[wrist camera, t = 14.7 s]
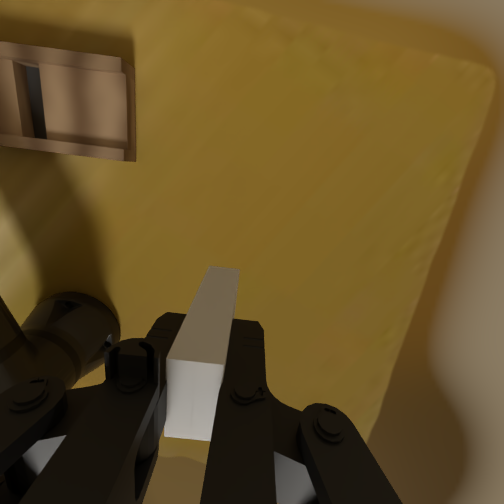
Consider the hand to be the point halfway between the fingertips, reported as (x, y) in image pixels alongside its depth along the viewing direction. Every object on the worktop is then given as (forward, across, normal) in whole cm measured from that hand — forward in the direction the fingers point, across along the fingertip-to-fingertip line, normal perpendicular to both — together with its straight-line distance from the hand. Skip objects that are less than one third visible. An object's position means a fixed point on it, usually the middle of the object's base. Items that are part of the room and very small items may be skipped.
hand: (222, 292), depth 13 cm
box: (+29, -35, +11) cm, 47 cm away
